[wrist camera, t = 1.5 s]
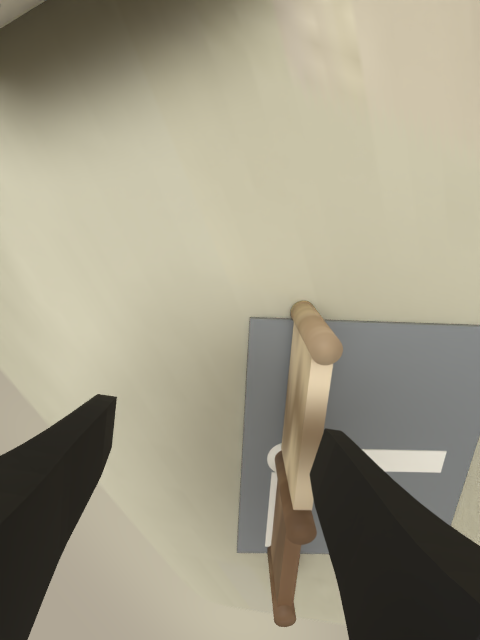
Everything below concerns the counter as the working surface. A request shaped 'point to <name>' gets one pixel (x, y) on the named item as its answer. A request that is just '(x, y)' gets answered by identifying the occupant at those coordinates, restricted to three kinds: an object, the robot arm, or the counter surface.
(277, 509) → the fence post and rail
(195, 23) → the counter surface
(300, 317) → the fence panel
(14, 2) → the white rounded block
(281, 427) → the mat
